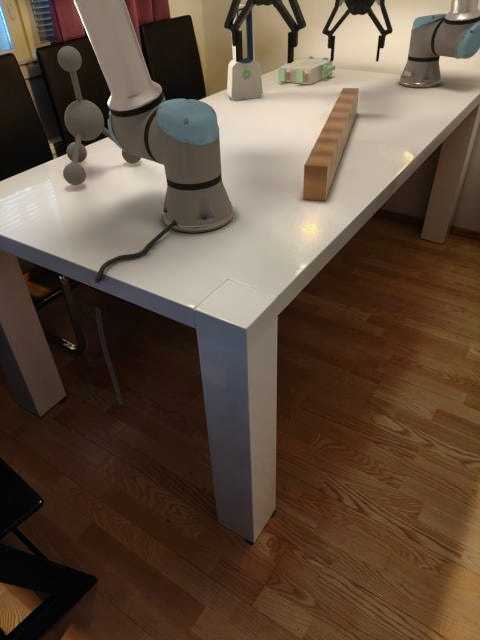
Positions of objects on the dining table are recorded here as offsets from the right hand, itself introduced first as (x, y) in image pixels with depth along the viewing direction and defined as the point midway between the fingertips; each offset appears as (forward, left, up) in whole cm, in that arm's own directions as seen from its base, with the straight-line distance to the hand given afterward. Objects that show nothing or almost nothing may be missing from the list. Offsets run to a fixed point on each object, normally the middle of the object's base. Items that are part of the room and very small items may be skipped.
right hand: (354, 60), depth 149 cm
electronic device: (-5, -49, -17) cm, 52 cm away
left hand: (+41, -2, +6) cm, 42 cm away
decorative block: (-42, -45, -17) cm, 64 cm away
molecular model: (+74, -33, -17) cm, 83 cm away
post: (+27, +11, -17) cm, 34 cm away
